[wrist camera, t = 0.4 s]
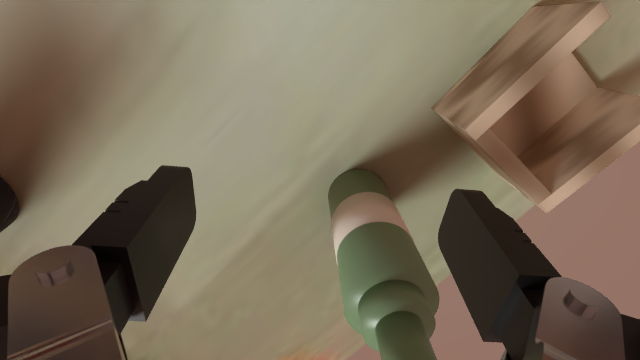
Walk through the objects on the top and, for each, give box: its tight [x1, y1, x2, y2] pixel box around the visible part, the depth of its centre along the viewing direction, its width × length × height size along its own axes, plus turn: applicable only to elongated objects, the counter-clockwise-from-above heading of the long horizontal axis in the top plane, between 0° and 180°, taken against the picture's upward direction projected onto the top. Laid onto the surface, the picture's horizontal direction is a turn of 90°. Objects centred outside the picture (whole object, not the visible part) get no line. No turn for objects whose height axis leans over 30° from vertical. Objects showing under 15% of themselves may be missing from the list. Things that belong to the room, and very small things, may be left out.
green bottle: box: [328, 169, 439, 360], centre depth 23 cm, size 6×6×20 cm
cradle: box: [432, 1, 640, 213], centre depth 26 cm, size 10×10×7 cm
